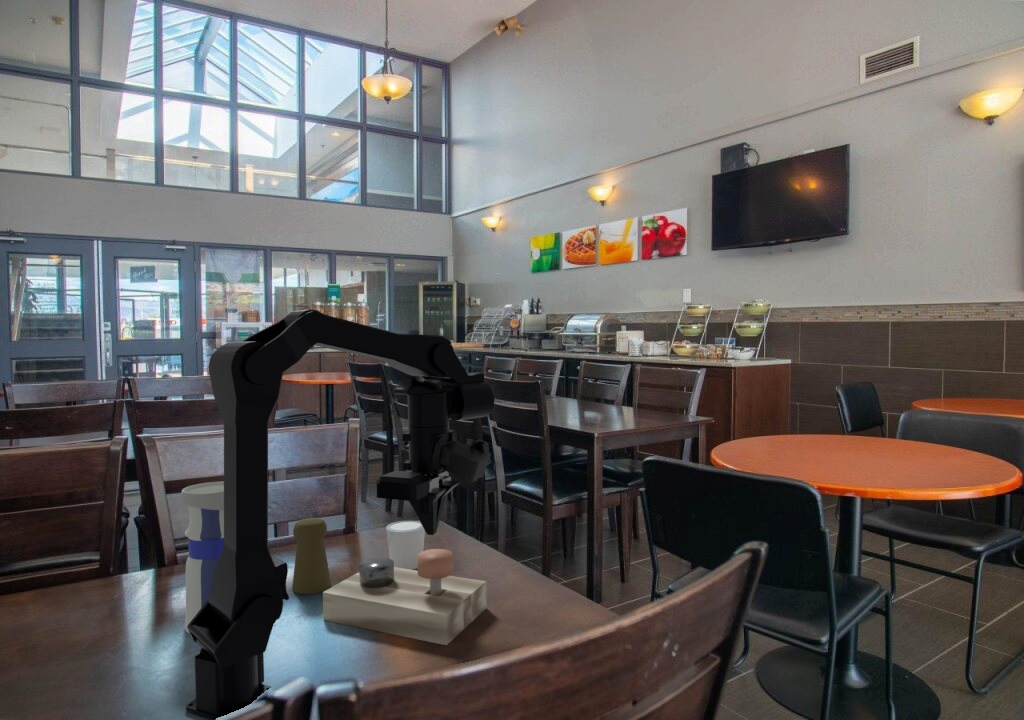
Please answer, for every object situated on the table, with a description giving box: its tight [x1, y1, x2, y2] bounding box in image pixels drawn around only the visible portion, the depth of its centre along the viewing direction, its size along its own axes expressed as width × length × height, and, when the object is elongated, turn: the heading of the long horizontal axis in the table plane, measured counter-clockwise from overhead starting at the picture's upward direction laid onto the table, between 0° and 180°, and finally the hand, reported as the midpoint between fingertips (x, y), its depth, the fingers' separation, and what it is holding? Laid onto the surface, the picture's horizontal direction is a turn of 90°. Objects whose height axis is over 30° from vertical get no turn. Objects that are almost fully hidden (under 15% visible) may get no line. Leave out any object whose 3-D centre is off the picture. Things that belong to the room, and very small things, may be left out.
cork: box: [291, 517, 332, 595], centre depth 101 cm, size 6×6×11 cm
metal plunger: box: [358, 557, 394, 587], centre depth 92 cm, size 5×5×6 cm
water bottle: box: [179, 480, 224, 635], centre depth 88 cm, size 8×9×25 cm
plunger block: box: [322, 567, 488, 646], centre depth 90 cm, size 12×20×4 cm, turn 67°
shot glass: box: [385, 520, 426, 570], centre depth 110 cm, size 7×7×7 cm
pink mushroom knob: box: [417, 548, 454, 596], centre depth 88 cm, size 5×5×6 cm
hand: (431, 534), depth 88 cm, fingers closed
